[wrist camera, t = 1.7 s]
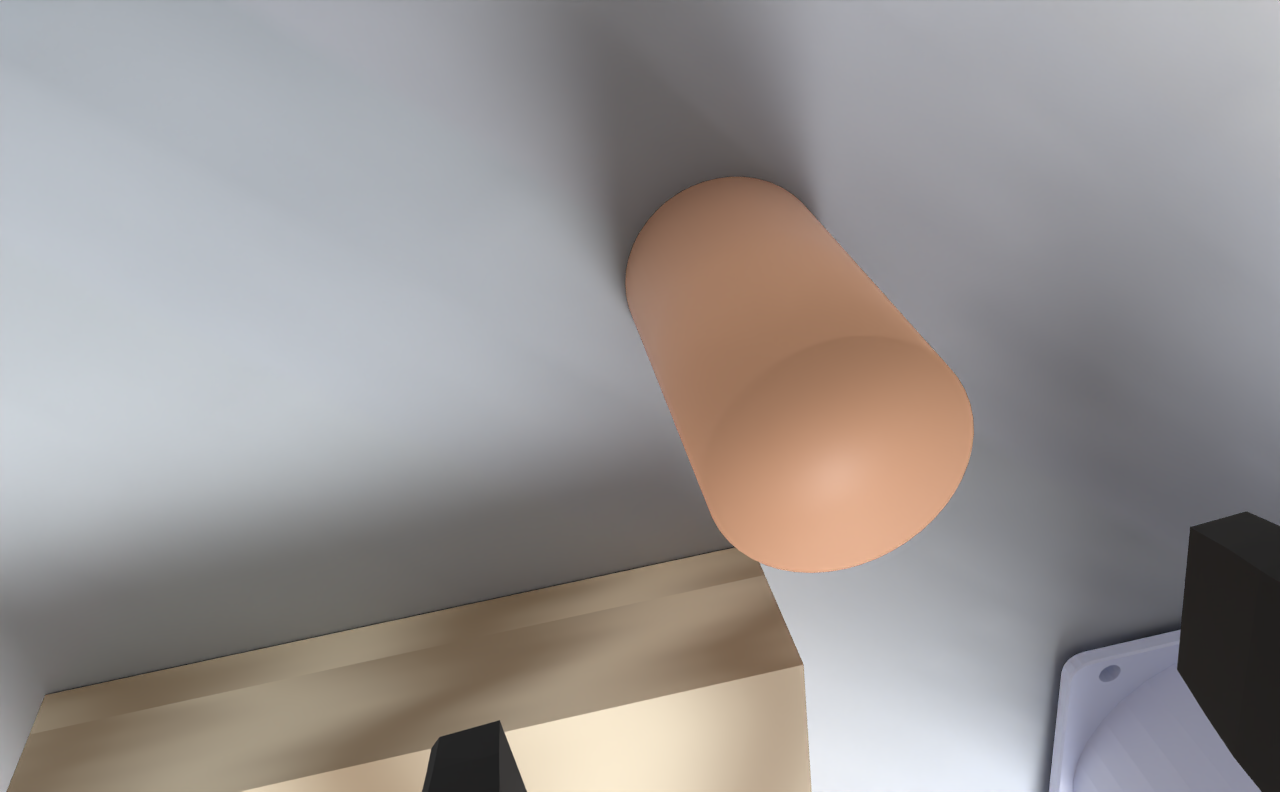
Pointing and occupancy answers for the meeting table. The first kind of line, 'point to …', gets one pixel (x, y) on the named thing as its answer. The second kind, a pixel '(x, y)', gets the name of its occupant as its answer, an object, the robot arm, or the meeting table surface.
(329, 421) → the meeting table surface
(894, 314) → the peg
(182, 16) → the meeting table surface
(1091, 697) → the robot arm
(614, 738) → the bore block
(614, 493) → the meeting table surface
